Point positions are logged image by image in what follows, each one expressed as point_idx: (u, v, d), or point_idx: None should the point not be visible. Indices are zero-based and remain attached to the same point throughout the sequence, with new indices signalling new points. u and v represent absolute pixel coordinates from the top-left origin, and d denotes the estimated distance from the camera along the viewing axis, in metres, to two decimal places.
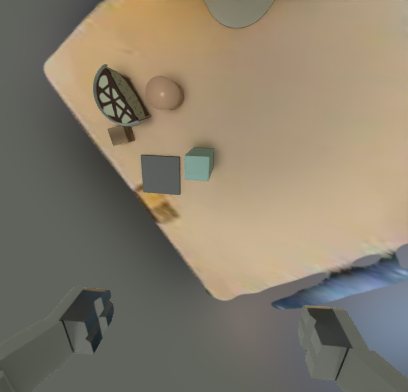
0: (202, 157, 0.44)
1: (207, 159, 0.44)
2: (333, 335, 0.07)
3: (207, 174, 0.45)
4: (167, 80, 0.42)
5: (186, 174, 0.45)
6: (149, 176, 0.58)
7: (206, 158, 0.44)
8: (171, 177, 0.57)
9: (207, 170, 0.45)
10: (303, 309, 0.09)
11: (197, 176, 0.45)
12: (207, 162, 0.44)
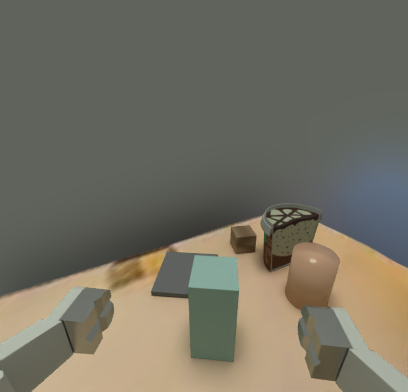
0: (236, 280, 0.23)
1: (233, 287, 0.22)
2: (333, 335, 0.07)
3: (202, 286, 0.22)
4: (337, 262, 0.30)
5: (203, 257, 0.26)
6: (188, 259, 0.41)
7: (235, 286, 0.22)
8: (183, 283, 0.36)
9: (210, 286, 0.22)
10: (303, 309, 0.09)
11: (199, 272, 0.24)
12: (227, 287, 0.22)
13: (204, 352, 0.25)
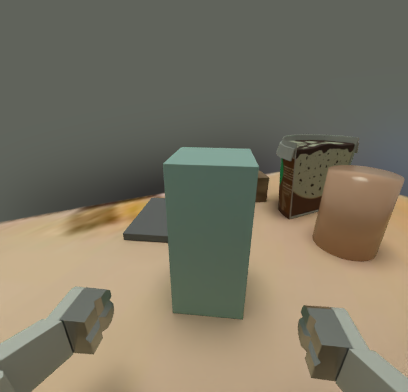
0: (252, 161, 0.12)
1: (248, 165, 0.12)
2: (333, 335, 0.07)
3: (189, 163, 0.12)
4: (400, 178, 0.19)
5: (195, 148, 0.16)
6: None
7: (251, 164, 0.12)
8: None
9: (205, 163, 0.12)
10: (303, 309, 0.09)
11: (186, 155, 0.14)
12: (236, 164, 0.12)
13: (194, 302, 0.15)
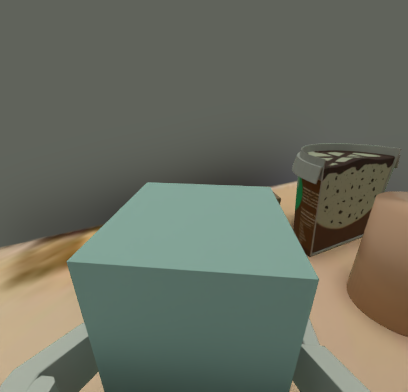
0: (289, 239, 0.05)
1: (285, 265, 0.04)
2: None
3: (136, 258, 0.05)
4: None
5: (171, 186, 0.09)
6: None
7: (292, 259, 0.05)
8: None
9: (176, 260, 0.05)
10: None
11: (144, 214, 0.06)
12: (255, 263, 0.04)
13: None
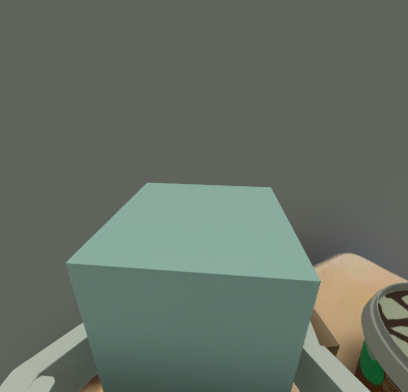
0: (290, 240, 0.05)
1: (287, 267, 0.04)
2: None
3: (136, 259, 0.05)
4: None
5: (171, 187, 0.09)
6: None
7: (293, 260, 0.05)
8: None
9: (176, 261, 0.05)
10: None
11: (144, 215, 0.06)
12: (256, 265, 0.04)
13: None
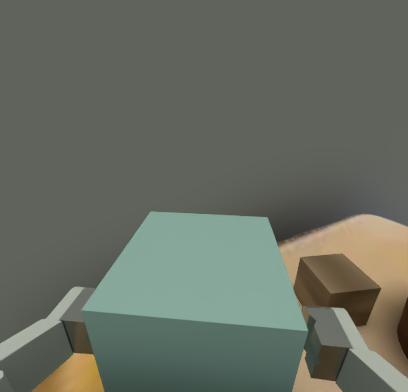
0: (283, 282, 0.06)
1: (279, 314, 0.05)
2: (333, 335, 0.07)
3: (144, 306, 0.05)
4: None
5: (173, 217, 0.09)
6: None
7: (285, 306, 0.05)
8: None
9: (180, 308, 0.05)
10: (303, 309, 0.09)
11: (149, 252, 0.07)
12: (252, 312, 0.05)
13: None
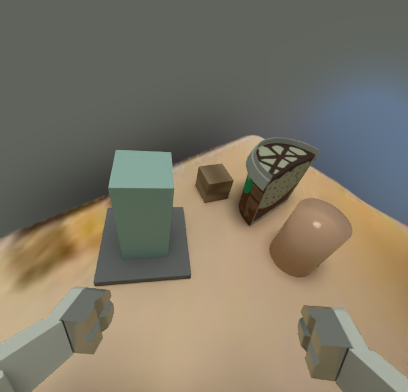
0: (171, 177, 0.19)
1: (167, 185, 0.18)
2: (333, 335, 0.07)
3: (127, 185, 0.17)
4: (349, 229, 0.23)
5: (128, 152, 0.20)
6: None
7: (169, 183, 0.18)
8: (142, 260, 0.25)
9: (139, 185, 0.17)
10: (303, 309, 0.09)
11: (123, 169, 0.18)
12: (160, 185, 0.18)
13: (137, 252, 0.24)
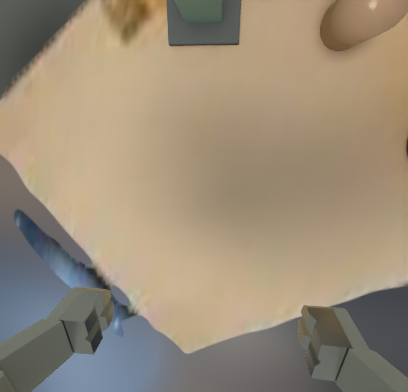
0: None
1: None
2: (333, 335, 0.07)
3: None
4: (401, 16, 0.23)
5: None
6: None
7: None
8: (200, 25, 0.31)
9: None
10: (303, 309, 0.09)
11: None
12: None
13: (196, 19, 0.29)
